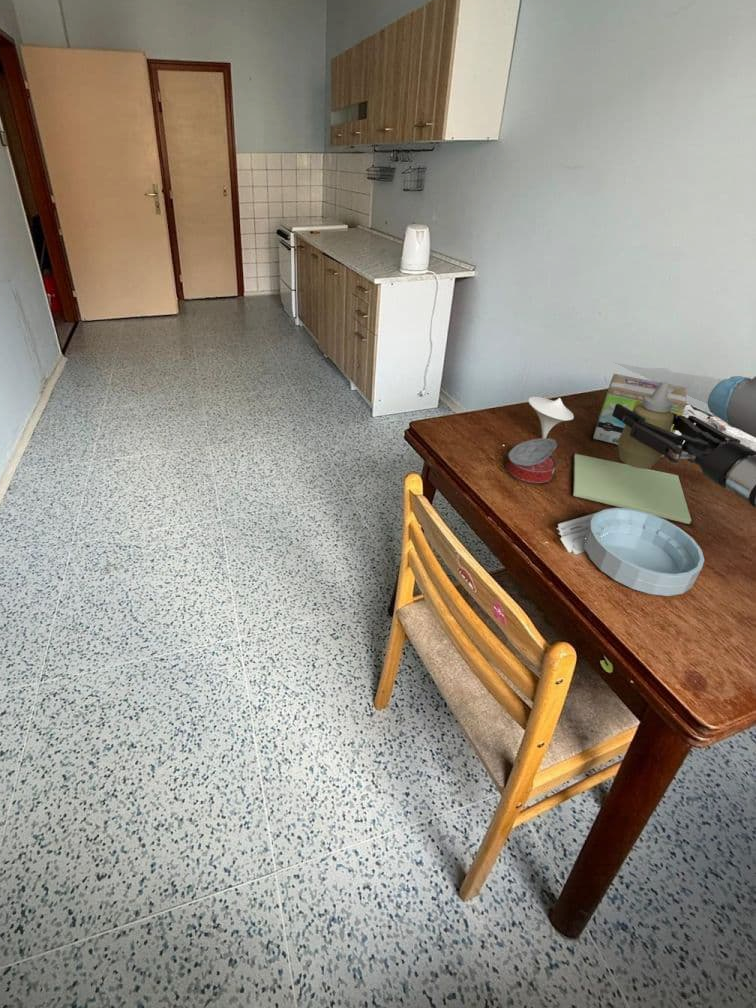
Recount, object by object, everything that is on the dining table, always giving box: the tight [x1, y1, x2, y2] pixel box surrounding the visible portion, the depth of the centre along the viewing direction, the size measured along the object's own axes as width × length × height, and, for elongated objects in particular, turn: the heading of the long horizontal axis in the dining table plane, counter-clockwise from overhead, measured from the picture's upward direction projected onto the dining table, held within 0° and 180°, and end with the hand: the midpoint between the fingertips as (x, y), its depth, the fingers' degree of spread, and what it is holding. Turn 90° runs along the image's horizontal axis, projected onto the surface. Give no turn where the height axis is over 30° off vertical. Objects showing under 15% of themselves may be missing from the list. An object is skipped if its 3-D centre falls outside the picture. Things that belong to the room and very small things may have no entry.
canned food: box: [505, 437, 558, 484], centre depth 106 cm, size 11×10×10 cm
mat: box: [572, 453, 692, 525], centre depth 101 cm, size 20×16×1 cm
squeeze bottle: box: [617, 381, 674, 469], centre depth 93 cm, size 8×8×18 cm
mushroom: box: [527, 396, 575, 438], centre depth 115 cm, size 10×11×12 cm
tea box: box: [592, 373, 687, 458], centre depth 114 cm, size 15×10×15 cm, turn 55°
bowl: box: [584, 507, 705, 597], centre depth 82 cm, size 16×16×5 cm
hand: (630, 407), depth 97 cm, fingers closed on squeeze bottle, 6 cm apart
